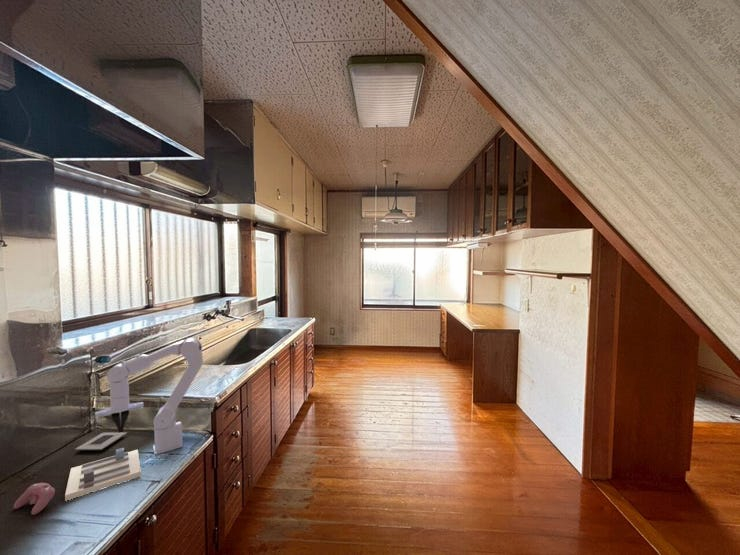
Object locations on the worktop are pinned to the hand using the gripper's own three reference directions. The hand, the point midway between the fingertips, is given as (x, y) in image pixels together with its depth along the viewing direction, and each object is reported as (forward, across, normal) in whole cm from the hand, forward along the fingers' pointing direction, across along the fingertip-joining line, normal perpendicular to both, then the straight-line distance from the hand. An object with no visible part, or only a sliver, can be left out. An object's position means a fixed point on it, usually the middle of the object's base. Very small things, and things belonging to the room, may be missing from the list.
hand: (120, 431), depth 125 cm
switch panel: (+9, +4, +12) cm, 16 cm away
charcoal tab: (+7, +9, +17) cm, 20 cm away
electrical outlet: (+10, +6, -16) cm, 20 cm away
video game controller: (+10, +21, +18) cm, 29 cm away
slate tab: (+7, 0, +7) cm, 10 cm away
